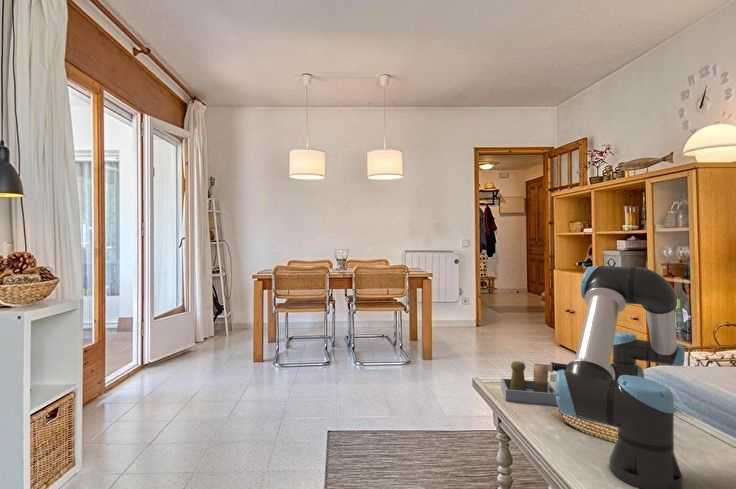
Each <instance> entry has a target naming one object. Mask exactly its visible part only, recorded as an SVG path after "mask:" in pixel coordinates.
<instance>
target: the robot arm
mask: <svg viewBox="0 0 736 489" xmlns="http://www.w3.org/2000/svg"><path fill="white" fill-rule="evenodd" d="M581 278H582V279H581V284H580V294H581V297H582V299H583V300H584V301H585V304H586V305H587V308H586V312H585V316H584V321H583V323H582V328H581V331H580V332H581V333H580V336H579V340H578V346H577V349H576V354H575V357H574V359H573V360H571V361H569V362H568V363H558V362H550V363H543V364H544V365H547V366H548V372H551V373H548V382H549V383H553V382H554V383H555V384H554V385H555V386H554V387H555V389H554V390H555V392H556V401H557V405H556V406H557V408H558V409H559V411H560V412H561V413H562V414H563V415H567V416H570V417H573V418H575V419H579V420H580V419H581V420H583V421H584V420H585V421H588V422H592V423H596V424H601V425H605V426H610V427H613V428H617V439H616V441H615V445H614V446H613V449H612V451H611V454H610V456H609V465H608V466H609V467H608V468H609V470H610V472H611V474H613V475H614V476H615V477H617V478H618V479H619V480H621V481H623V482H624V483H626V484H629V485H631V486H632V487H633V486H634V487H636V488H639V489H683V479H684V478H683V474H682V472H681V468H680V466H679V463H678V459H677V456H676V455H675V454H676V453H675V449H674V444H675V427H674V424H675V423H674V422H675V418H674V416H675V413H676V408H675V398H674V395H673V392H672V391H671V390H670V389H669V388H668V387H666V385H665V386H664V384H661V383H659V382H657V381H654V380H651V379H648V378H645V374H644V371H643V368H642V366H640V365H639V364H637V361H641V362H648V363H654V364H661V365H666V366H667V365H668V366H670V367H671V366H672V367H673V366H674V367H683V366H684V365H685V361H686V360H685V357H686V353H685V352H686V350H685V347H684V345H681V344H678V342H677V332H676V331H677V330H676V320H675V318H676V317H675V310H676V308H677V306H678V297H677V294H676V291H675V288H673V285H671V283H670V282H669V281H668V280H667V279H666V278H664V277H663V275H661V274H659V273H658V272H656V271H654V270H652V269H649V268H645V267H639V266H636V267H635V266H634V267H631V266H611V265H610V266H609V265H608V266H607V265H593V266H589V267H588V268H587V269H585V271H584V273H583V274H582V277H581ZM627 304H628V305H630V304H632V305H641V307H642V309H643V310H645V313H646V320H647V326H648V327H647V328H648V333H649V339H650V340H644V339H643V340H642V339H637V335H636V334H635V333H633V332H632V333H631V332H625V331H616V330H617V324H618V319H619V314H620V312H623V311H624V310H625V309H626V307H627ZM611 356H612V363H610V362H611V361H610V360H611ZM553 372H557V373H553Z"/></svg>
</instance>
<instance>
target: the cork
mask: <svg viewBox="0 0 736 489" xmlns="http://www.w3.org/2000/svg"><path fill="white" fill-rule="evenodd" d="M510 368H511V370H512V371H511V378H510V379H511V384H510V390H520V391H526V387H525V380H526V379H525V373H524V371H525V369H526V364H525V363H524V362H523V361H516V360H515V361H512V362H511V364H510Z"/></svg>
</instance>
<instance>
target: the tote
mask: <svg viewBox="0 0 736 489" xmlns="http://www.w3.org/2000/svg"><path fill="white" fill-rule="evenodd" d="M500 381H501V382H500V386H501V388H500V389H501V391H502V394H503V398H504V401H505V402H514V403H523V404H524V403H525V404H539V405H547V406H548V405H551V406H557V405H556V404H557V401H556V390H555V389H554V387H553V386H552V385H551V384H550V381H548V393H544V392H533V383H534V380H528V379H525V387H526V391H520V390H510V384H511V378H504V377H503V378H501V380H500Z"/></svg>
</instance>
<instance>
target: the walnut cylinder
mask: <svg viewBox="0 0 736 489" xmlns="http://www.w3.org/2000/svg"><path fill="white" fill-rule="evenodd" d="M544 364H545V363H534V364H533V381H534V383H533V392H544V393H548V382H549V371H548V366H547V365H544Z"/></svg>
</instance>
